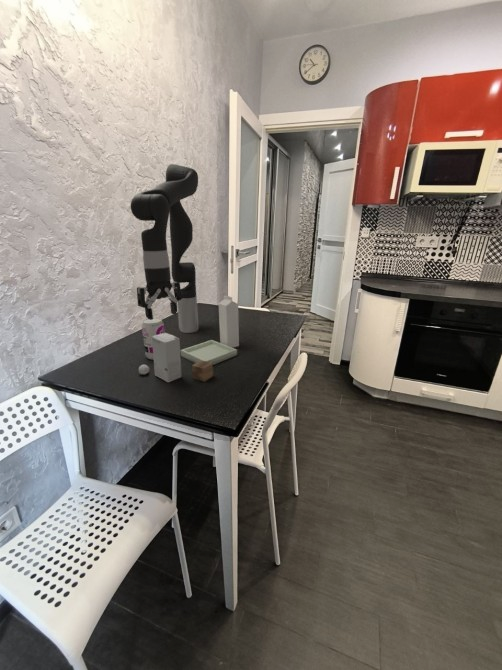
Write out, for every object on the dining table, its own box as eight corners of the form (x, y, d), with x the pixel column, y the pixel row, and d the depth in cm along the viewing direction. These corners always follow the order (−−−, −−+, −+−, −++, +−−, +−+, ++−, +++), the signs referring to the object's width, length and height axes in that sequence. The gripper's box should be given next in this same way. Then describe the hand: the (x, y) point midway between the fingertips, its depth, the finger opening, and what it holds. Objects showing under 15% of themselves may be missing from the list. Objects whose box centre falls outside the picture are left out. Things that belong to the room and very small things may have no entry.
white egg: (137, 374, 108) (136, 365, 107) (146, 370, 110) (145, 362, 109) (142, 377, 106) (140, 368, 105) (151, 373, 108) (150, 364, 107)
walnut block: (192, 378, 105) (191, 365, 103) (201, 372, 109) (201, 360, 107) (204, 381, 103) (203, 368, 101) (213, 375, 107) (212, 362, 105)
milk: (227, 349, 129) (225, 298, 122) (220, 345, 134) (217, 295, 126) (239, 346, 133) (238, 296, 125) (231, 341, 137) (230, 293, 129)
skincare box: (154, 376, 107) (149, 336, 102) (169, 370, 111) (164, 331, 106) (168, 383, 102) (164, 342, 96) (183, 376, 106) (179, 336, 101)
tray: (181, 355, 123) (180, 350, 122) (212, 345, 134) (211, 339, 133) (205, 367, 112) (205, 361, 112) (237, 355, 123) (236, 349, 122)
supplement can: (170, 353, 125) (167, 318, 120) (158, 361, 118) (154, 324, 113) (154, 351, 128) (149, 316, 123) (141, 358, 120) (136, 322, 115)
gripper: (170, 262, 101) (174, 310, 106) (128, 266, 91) (136, 318, 96) (183, 264, 96) (187, 314, 101) (140, 269, 86) (147, 323, 92)
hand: (162, 316), depth 99 cm, fingers open, 8 cm apart
